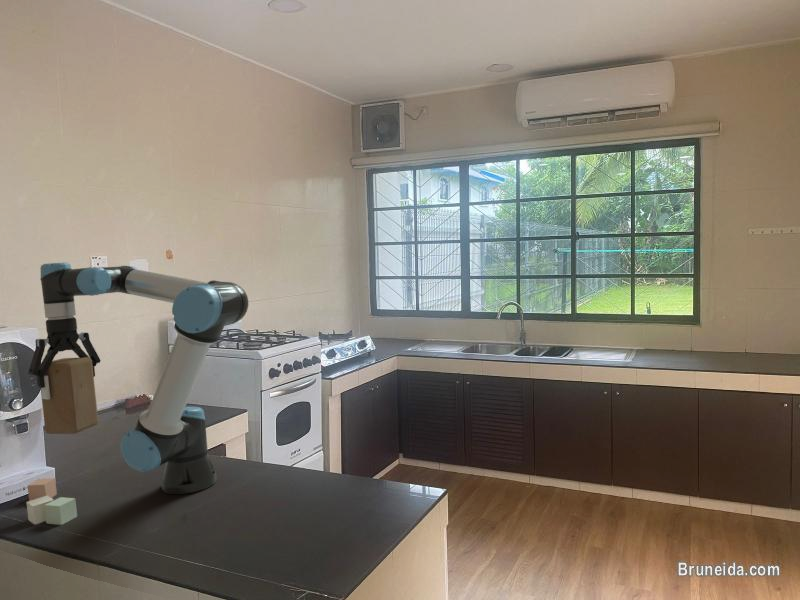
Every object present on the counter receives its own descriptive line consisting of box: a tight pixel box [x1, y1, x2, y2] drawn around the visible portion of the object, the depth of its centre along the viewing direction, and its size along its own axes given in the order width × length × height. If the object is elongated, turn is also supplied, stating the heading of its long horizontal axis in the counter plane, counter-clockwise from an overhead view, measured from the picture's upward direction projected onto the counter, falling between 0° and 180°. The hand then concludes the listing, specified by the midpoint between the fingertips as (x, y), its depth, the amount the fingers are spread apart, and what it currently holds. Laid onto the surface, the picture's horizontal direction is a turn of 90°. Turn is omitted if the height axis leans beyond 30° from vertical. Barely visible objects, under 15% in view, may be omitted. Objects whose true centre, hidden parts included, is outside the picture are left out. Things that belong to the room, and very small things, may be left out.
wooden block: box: [40, 357, 99, 435], centre depth 170 cm, size 10×10×20 cm
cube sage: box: [45, 496, 78, 526], centre depth 157 cm, size 5×5×5 cm
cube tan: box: [27, 477, 58, 501], centre depth 173 cm, size 5×5×5 cm
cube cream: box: [26, 496, 55, 525], centre depth 159 cm, size 5×5×5 cm
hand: (68, 393), depth 170 cm, fingers closed on wooden block, 12 cm apart
